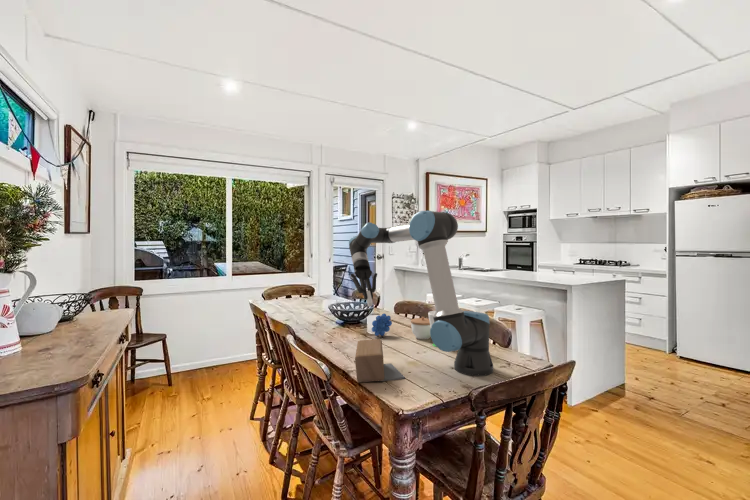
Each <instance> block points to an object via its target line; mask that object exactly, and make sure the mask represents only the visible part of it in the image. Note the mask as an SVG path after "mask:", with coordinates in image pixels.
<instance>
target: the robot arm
mask: <svg viewBox="0 0 750 500" xmlns="http://www.w3.org/2000/svg"><path fill="white" fill-rule="evenodd" d="M458 224H459V223H458V221H457V219H456V217H455V216H454V215H452V214H451V213H449V212H446V211H433V210H432V211H431V210H420V211H418V212H416V213H414V214H413V216H412V217H411V220H410V221H409V223H407V224H403V225H396V226H390V227H379V226H378V225H377V224H376V223H373V222H371V221H370V222H366V223H365V224H364V225H363V226H362V227H361V229H360V231H359V233H358V234H357V235H356V236H353V237H351V238H350V239H349V240H348V248H349V253H350V255H351V261H352V265H353V270H354V273H351V274H350V276H349V278H350V280H351V281H352V282H353V284H354V286H355V288H356V290H357V291H358V293H359V294H362V296H363V299H364V300H366V302H367V306H368V307H370V308H371V307H372V306H373V299H374V293H375V291H376V288H377V277H378V273H377V272H375V273H373V271H372V270H371V266H370V262H369V258H368V254H367V249H368V248H369V247H370V246H371V244H394V243H397V242H398V243H399V242H407V241H417V246H418V248H419V249H420V250H421V251H423V254H424V255H423V256H424V260H425V265H426V270H427V273H428V278H429V279H428V280H429V283H430V288H431V289H430V290H431V293H432V298H433V303H434V308H435V311H436V313H435V314H434V316H433V319H434V323H433V324H432V326H431V327H432V328H431V329H430V335H431V337H430V338H431V342H432V344H433V343H434V344H435V346H436V347H435V348H438V349H439V350H440V351H442V352H446V353H451V352H456V351H457V353H456V356H455V360H454V363H453V364H454V366H453V368H454V370H455V371H456V372H458V373H461V374H463V375H467V376H477V377H482V376H488V375H492V374H493V373H494V362H493V361H492V357H491V353H490V325H491V322H490V316H489V315H488V314H487V313H485V312H480V311H475V310H463V309H461V308H460V307H459V302H458V300H457V294H456V289H455V286H454V281H453V276H452V271H451V268H450V267H451V266H450V262H449V258H448V254H447V249H446V246H447V245H448V242H449V240H451V239H452V238H454V237H455V236H456V234H457V233H458V228H459V225H458ZM370 278H372V283H371V279H370Z"/></svg>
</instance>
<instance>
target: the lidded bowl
mask: <svg viewBox="0 0 750 500" xmlns="http://www.w3.org/2000/svg"><path fill="white" fill-rule="evenodd" d="M410 325H411V326H410V328H411V333H412V334H413V335H414V336H415V338H416V339H417V340H428V339H430V338H431V335H430V329H431V327H430V321H429V317H428V318H427V317H425V316H421V317H415V318H413V319H411V320H410Z"/></svg>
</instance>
